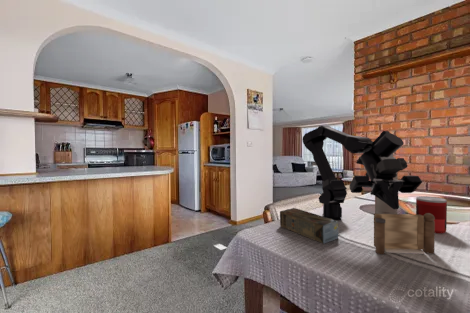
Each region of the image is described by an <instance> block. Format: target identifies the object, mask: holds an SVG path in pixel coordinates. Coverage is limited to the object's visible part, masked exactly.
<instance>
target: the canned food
mask: <svg viewBox="0 0 470 313" xmlns="http://www.w3.org/2000/svg"><path fill="white" fill-rule="evenodd" d="M447 209H448V201H447V199H445V198H441V197H436V196H427V195H426V196H424V195H423V196H419V195H418V196H416V200H415V215H422V216H423V215H424V214H426V213H430V214H432V215H433V216H434V217H435V220H434V222H435V234H440V235H441V234H446V232H447V225H448V224H447V223H448V222H447V221H448V220H447V218H448V217H447V216H448V215H447V214H448V213H447V211H448V210H447Z"/></svg>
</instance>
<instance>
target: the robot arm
mask: <svg viewBox="0 0 470 313" xmlns="http://www.w3.org/2000/svg"><path fill="white" fill-rule="evenodd" d="M326 139H329V140H331V141H334V142H336V143H338V144H340V145H342V146H343V147H344V149H345V150H346V151H348V152H349V153H351V154H353V155H355V154H361V155H360V156H359V157H358V159H356V162H355V163H356V164H357V165H361V166H363V167H364V169H365V171H366V172H365V174H364V175H355V176H353V178H352V180H351V181H350V183H349V191H350V192H351V193H353V194H361V193H362V192H363V191H364V188H370V189H371V191H370V193H369V194H370V196H374V197H375V196H376V197H377V198H379V199H381V200H382V201H383V202H385V203H386V204H387V205H389V206H390V207H391V208H393V209H397V210H398V209H399V208H400V204H399V193H402V194H411V193H414V192H415V191H416V190H417V189H418V188H419V187H420V185H421V184H422V183H423V181H422V179H421V177H419V175H403V176H402V177H401V179H398V180H393V178H395V177H396V176H397V174H396V173H397V172H398V173H399V172H400V171H403V170H406V169H408V167H409V166H408V163H407V160H406V159H405V158H404V157H396V159H384V160H382V158H381V157H387V158H388V157H390V156H391V155H392V154H393V155H394V154H395V152H397V151H398V150H399V149H400V148H401V147H403V145H404V144H405V143H404V141H403V139H402V138H401V137H399V136H397V135H396V134H394V133H392V132H390V131H389V130H382V132H381V133H380V134H379V136H377V138H376V139H374V140H372V139H371V138H369V137H366V136H361V135H360V136H359V135H358V136H357V135H352V134H348V133H346V132H343V131H341V130H339V129H336V128H334V127H331V125H320V126H318V127H317V128H314V129H312V130H310V131H308V132H305V133H304V135H303V136H302V143H303V145H304V148H305V149H306V150H308V151H309V152H310V153H311V155H312V157H313V159H314V162H315V164H316V167H317V169H318V172H319V174H320V176H321V179H322V187H321V189H322V193H321V194H320V195H319V197H318V201H319V203H320V204H322V214H321V216H323V217H326V218H329V219H333V220H336V221H342V218H343V208H342V206H341V204H344V203H345V199H346V197H347V195H348V192H347V189H348V188H347V187H346V186H345V183H344V180H343V179H338V178H337V177H336V176H335V173H334V172H333V170H332V167H331V165H330V162H329V159H328V158H327V155H326V153H325V151H324V148H323V147H324V143H325V142H324V141H326Z"/></svg>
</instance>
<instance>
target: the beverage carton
mask: <svg viewBox="0 0 470 313" xmlns="http://www.w3.org/2000/svg"><path fill="white" fill-rule="evenodd" d="M279 225H280V227H281V228H283V229H286V230H289V231H290V232H291V231H292V232H293V233H296V234H299V235H301V236H303V237H306V238H308V239H311V240H313V241H316V242H318V243H321V244H326V243H330V242H332V241H334V240H337V239H339V220H333V219H329V218H326V217H323V215H319V214H315V213H312V212H310V211H306V210H302V209H299V208H296V207H292V208H287V209H285V210H281V211H279Z"/></svg>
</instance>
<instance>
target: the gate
mask: <svg viewBox="0 0 470 313" xmlns="http://www.w3.org/2000/svg"><path fill="white" fill-rule="evenodd" d="M375 218H383V219H385V248H395V249H418V250H422V251H423V244H424V216H422V215H416V214H409V213H407V214H406V213H405V214H403V213H402V214H400V213H397V214H375V213H373V246H374V247H375V248H376V221H375Z"/></svg>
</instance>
